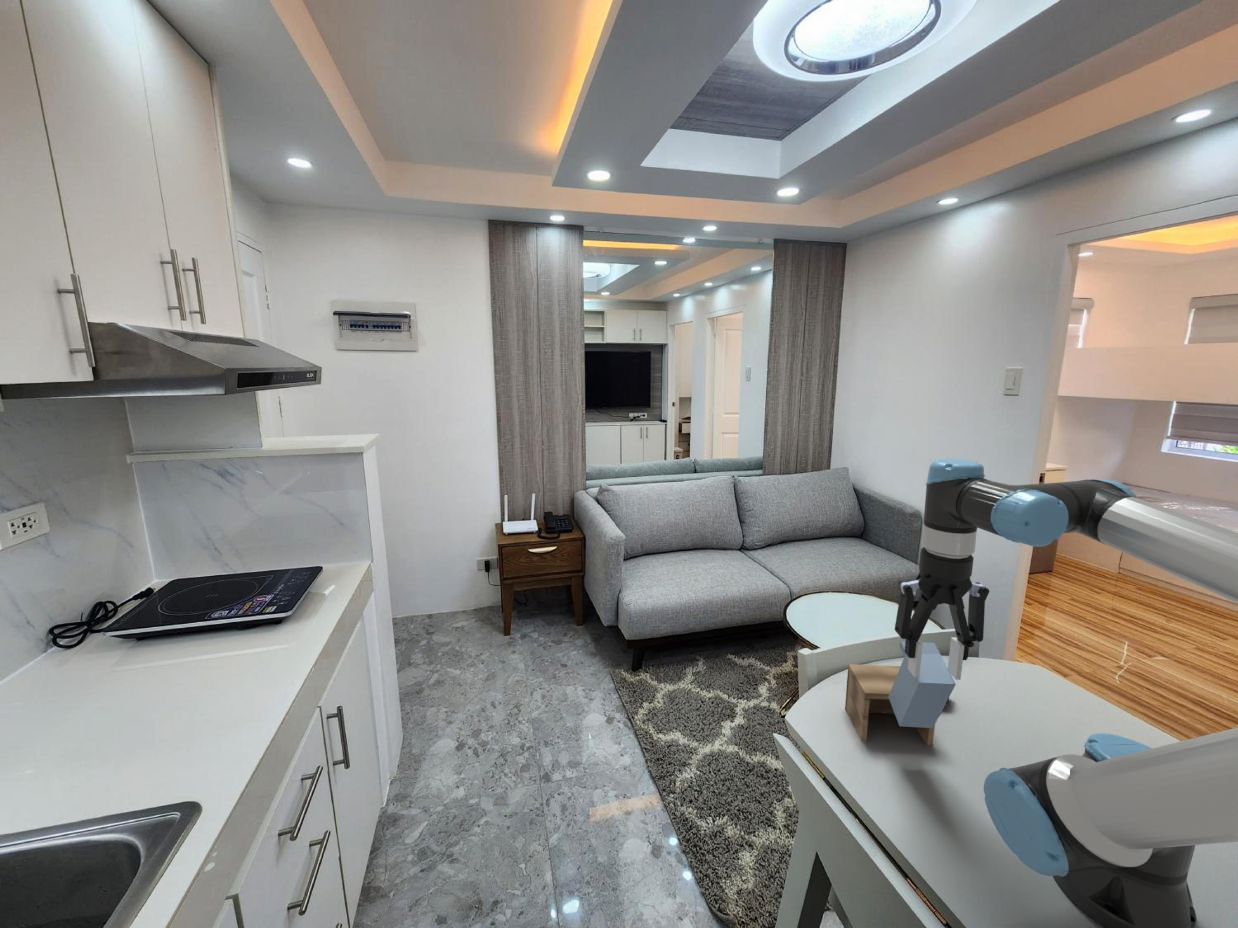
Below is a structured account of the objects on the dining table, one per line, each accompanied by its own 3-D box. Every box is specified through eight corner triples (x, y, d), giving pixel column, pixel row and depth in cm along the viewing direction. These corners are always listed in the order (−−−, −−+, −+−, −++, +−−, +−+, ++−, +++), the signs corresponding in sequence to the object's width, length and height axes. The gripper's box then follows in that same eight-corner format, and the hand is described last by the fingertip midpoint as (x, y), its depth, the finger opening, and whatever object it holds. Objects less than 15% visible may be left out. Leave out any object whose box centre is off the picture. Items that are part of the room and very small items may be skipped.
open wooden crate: (932, 744, 101) (938, 696, 99) (861, 740, 103) (865, 692, 101) (909, 711, 111) (914, 666, 109) (845, 708, 112) (848, 663, 110)
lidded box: (955, 684, 86) (934, 642, 93) (919, 682, 87) (900, 641, 94) (932, 727, 93) (914, 686, 101) (899, 726, 94) (883, 685, 101)
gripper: (993, 543, 86) (978, 664, 90) (878, 542, 88) (869, 659, 92) (1023, 560, 78) (1005, 690, 83) (897, 557, 81) (885, 684, 85)
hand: (933, 673), depth 88 cm, fingers closed on lidded box, 6 cm apart
